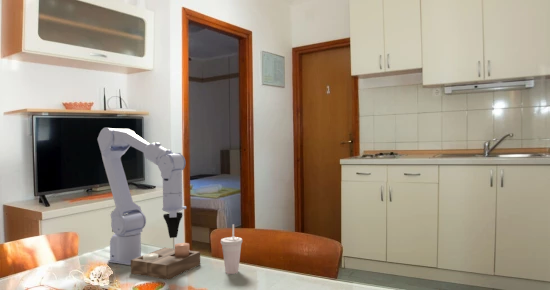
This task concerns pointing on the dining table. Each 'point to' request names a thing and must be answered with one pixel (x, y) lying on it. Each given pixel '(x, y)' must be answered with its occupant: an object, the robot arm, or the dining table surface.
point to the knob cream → (150, 256)
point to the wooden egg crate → (165, 264)
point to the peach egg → (182, 250)
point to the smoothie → (231, 252)
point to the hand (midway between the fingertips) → (173, 237)
